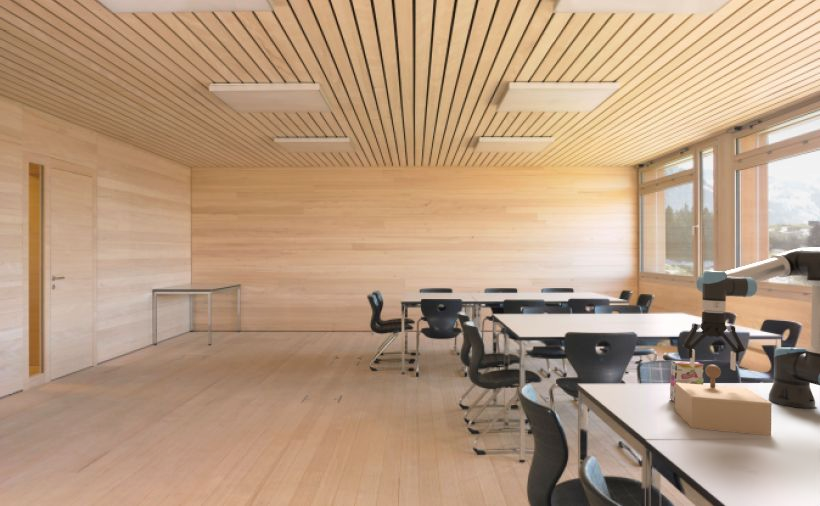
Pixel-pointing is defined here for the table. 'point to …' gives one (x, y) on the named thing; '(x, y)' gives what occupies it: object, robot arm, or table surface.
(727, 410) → the wooden box
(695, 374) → the candy bar box
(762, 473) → the table surface
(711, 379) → the wooden lid with knob
